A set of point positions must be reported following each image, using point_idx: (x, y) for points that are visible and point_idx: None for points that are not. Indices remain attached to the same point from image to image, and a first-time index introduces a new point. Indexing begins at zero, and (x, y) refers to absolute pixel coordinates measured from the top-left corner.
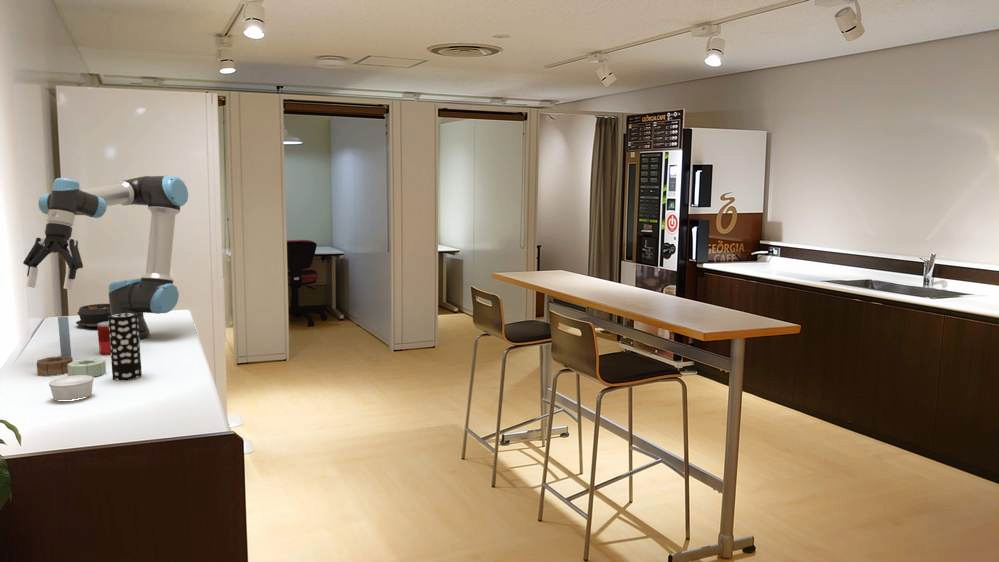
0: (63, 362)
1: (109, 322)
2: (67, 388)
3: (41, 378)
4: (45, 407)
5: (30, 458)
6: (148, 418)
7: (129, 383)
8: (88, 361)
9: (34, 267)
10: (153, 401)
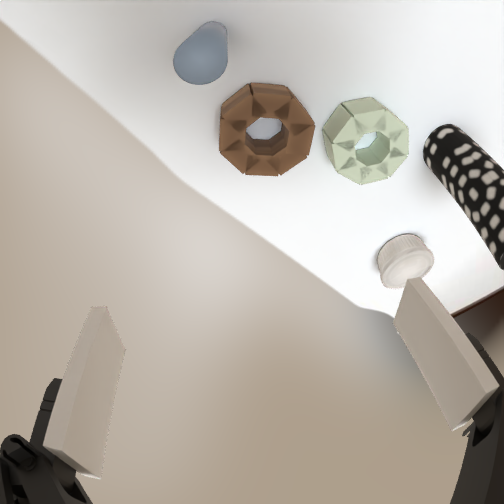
0: (309, 151)
1: (493, 256)
2: None
3: (274, 176)
4: (381, 281)
5: None
6: (477, 276)
7: None
8: (367, 131)
9: (86, 469)
10: (483, 243)
